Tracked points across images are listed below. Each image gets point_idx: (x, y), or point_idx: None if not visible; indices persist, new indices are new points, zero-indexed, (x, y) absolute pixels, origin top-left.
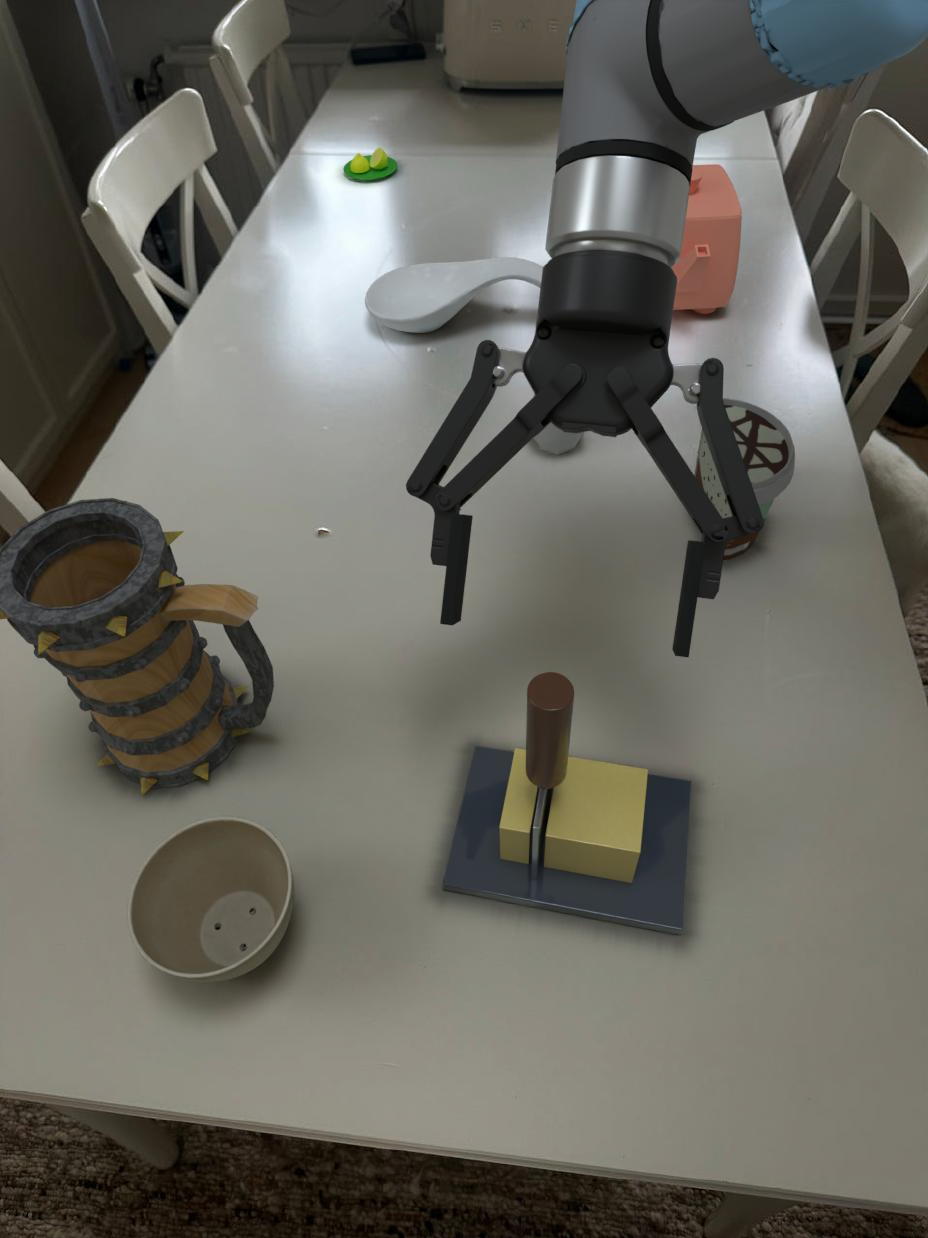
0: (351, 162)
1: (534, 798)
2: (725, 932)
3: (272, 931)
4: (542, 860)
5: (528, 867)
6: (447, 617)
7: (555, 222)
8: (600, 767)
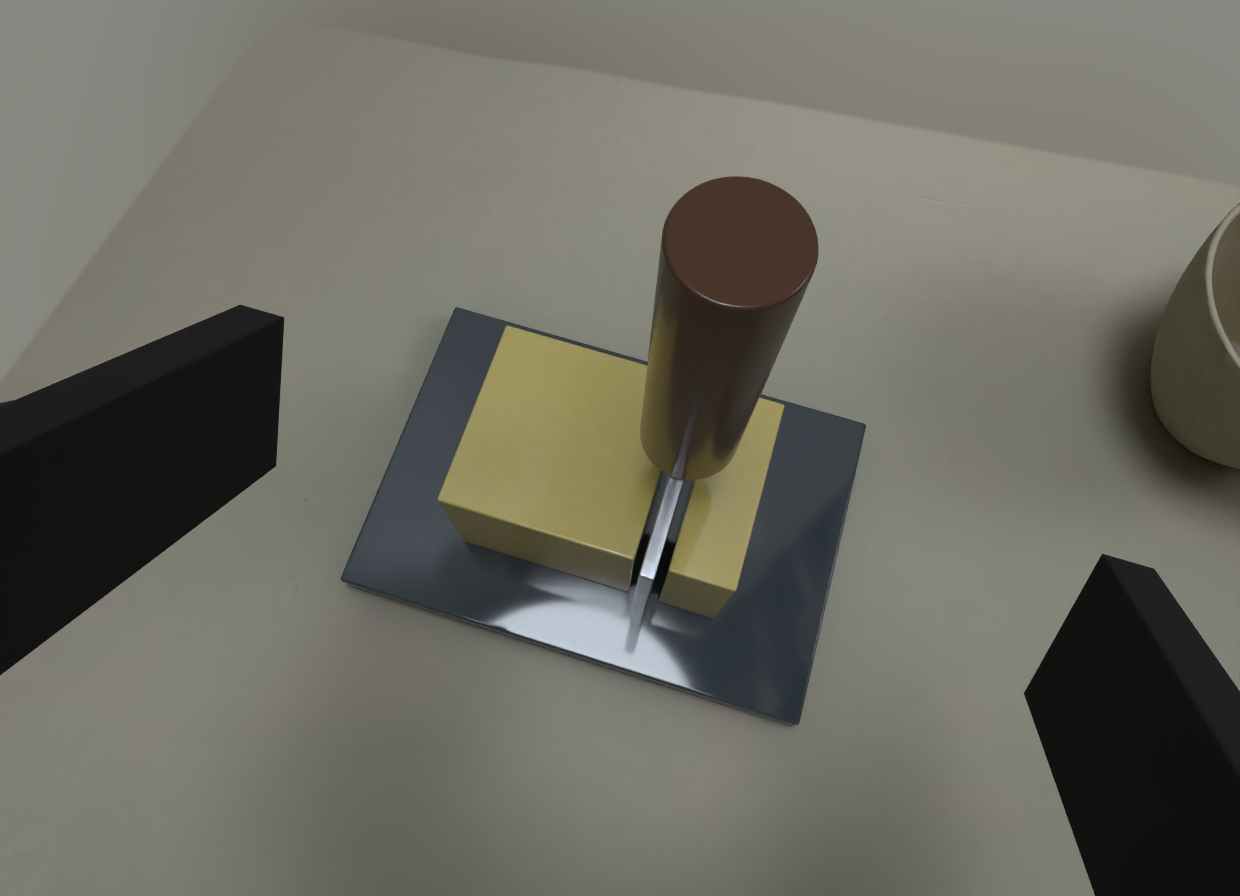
0: None
1: None
2: (383, 316)
3: (1222, 231)
4: None
5: None
6: (1135, 578)
7: None
8: (543, 516)
